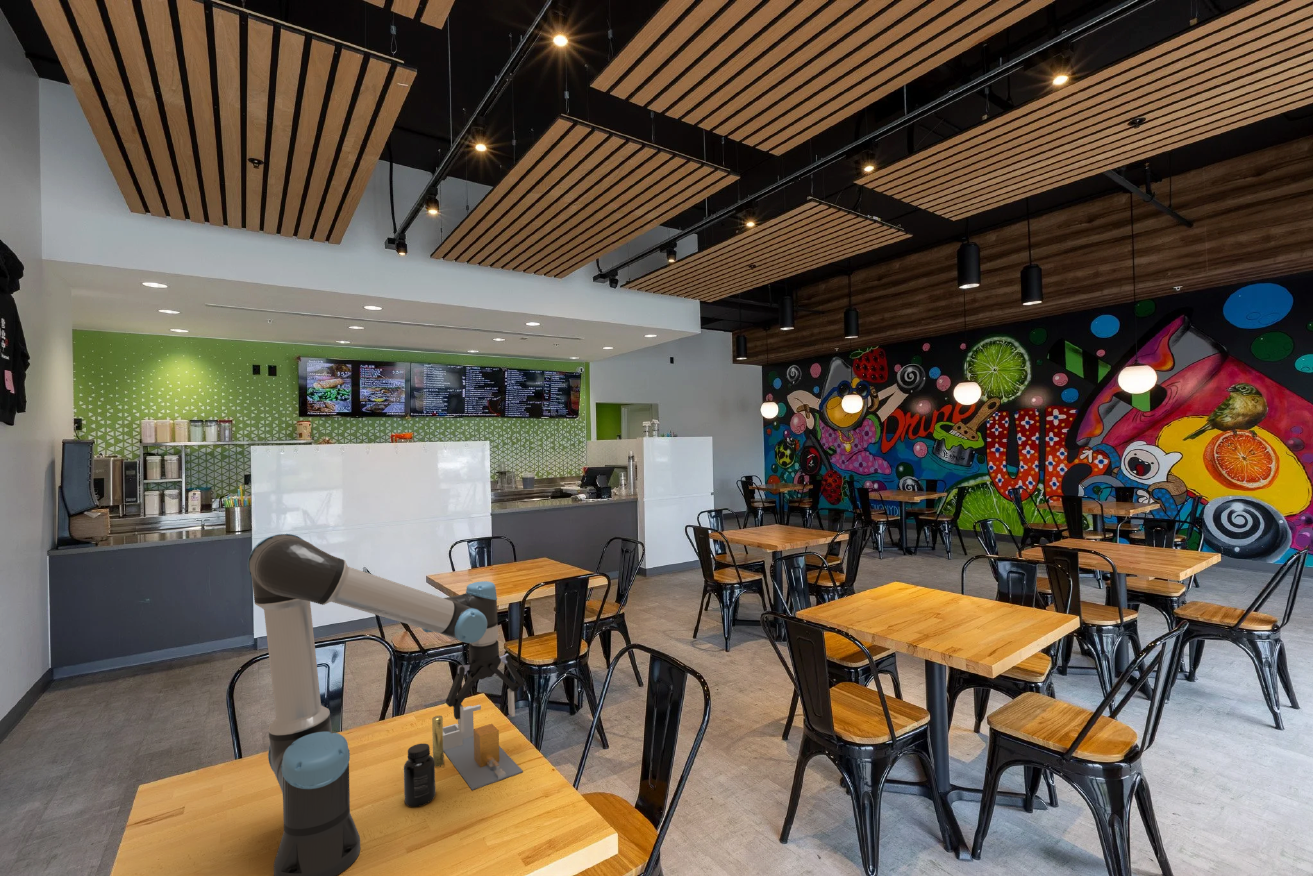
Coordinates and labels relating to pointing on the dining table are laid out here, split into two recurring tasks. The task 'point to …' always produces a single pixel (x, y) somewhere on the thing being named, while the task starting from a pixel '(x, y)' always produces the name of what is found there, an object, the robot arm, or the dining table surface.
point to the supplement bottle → (419, 776)
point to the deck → (462, 754)
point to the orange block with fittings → (488, 749)
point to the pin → (438, 740)
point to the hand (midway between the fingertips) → (487, 722)
